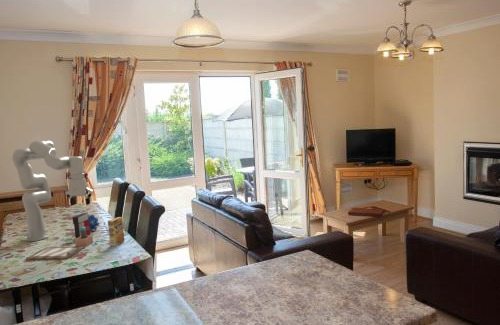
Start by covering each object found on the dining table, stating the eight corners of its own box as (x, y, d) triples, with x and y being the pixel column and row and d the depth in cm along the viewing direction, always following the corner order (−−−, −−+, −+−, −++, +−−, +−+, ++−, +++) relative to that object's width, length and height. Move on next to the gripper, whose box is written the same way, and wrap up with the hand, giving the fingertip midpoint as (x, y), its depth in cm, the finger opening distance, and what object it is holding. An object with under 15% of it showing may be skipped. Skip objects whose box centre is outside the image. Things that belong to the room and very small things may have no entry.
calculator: (80, 240, 241) (78, 217, 240) (74, 240, 242) (72, 217, 241) (91, 235, 252) (88, 212, 250) (85, 234, 253) (83, 212, 251)
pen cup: (76, 246, 229) (75, 239, 229) (82, 242, 236) (81, 235, 236) (87, 246, 229) (86, 238, 228) (93, 242, 235) (92, 235, 235)
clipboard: (26, 260, 210) (25, 256, 210) (46, 248, 228) (46, 245, 228) (66, 259, 207) (66, 255, 207) (84, 248, 225) (84, 244, 225)
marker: (81, 244, 231) (79, 228, 230) (83, 242, 234) (81, 227, 233) (85, 244, 231) (83, 228, 229) (88, 242, 234) (86, 226, 232)
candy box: (115, 246, 225) (113, 221, 224) (109, 245, 227) (107, 220, 225) (124, 241, 234) (122, 217, 232) (119, 241, 235) (116, 216, 233)
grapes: (84, 234, 255) (82, 216, 254) (81, 232, 260) (79, 215, 259) (101, 230, 263) (100, 213, 261) (98, 228, 268) (96, 211, 266)
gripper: (60, 178, 227) (63, 206, 229) (87, 177, 225) (90, 205, 227) (67, 176, 235) (70, 203, 236) (94, 175, 233) (97, 202, 234)
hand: (80, 204), depth 232 cm, fingers open, 9 cm apart
